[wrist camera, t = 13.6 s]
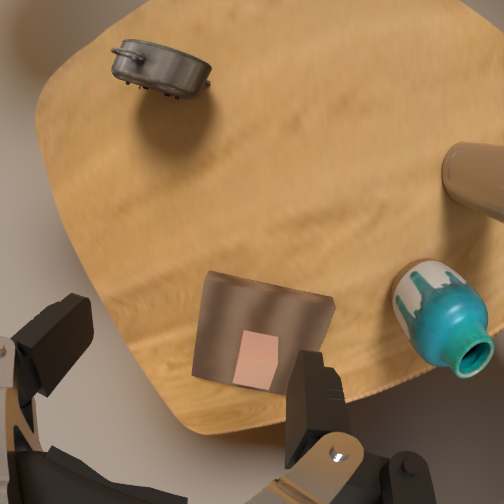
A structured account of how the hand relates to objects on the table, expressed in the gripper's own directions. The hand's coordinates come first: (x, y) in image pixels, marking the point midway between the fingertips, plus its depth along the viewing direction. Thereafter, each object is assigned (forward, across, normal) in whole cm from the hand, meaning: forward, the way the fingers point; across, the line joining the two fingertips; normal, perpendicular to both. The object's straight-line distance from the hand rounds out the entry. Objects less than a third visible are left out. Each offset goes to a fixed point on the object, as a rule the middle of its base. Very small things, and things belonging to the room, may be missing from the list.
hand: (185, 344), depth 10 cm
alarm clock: (+31, +13, -14) cm, 36 cm away
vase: (+31, -26, +7) cm, 41 cm away
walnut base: (+31, -4, +20) cm, 37 cm away
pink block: (+28, -4, +20) cm, 35 cm away
